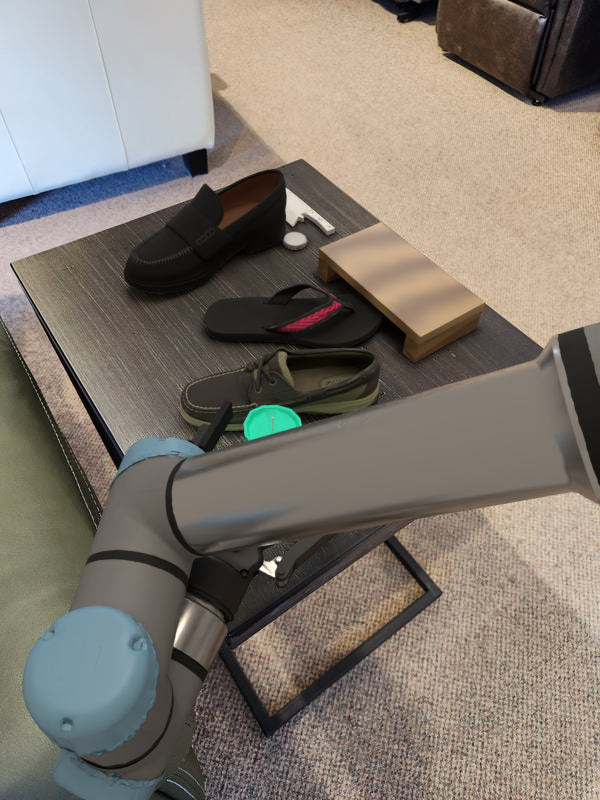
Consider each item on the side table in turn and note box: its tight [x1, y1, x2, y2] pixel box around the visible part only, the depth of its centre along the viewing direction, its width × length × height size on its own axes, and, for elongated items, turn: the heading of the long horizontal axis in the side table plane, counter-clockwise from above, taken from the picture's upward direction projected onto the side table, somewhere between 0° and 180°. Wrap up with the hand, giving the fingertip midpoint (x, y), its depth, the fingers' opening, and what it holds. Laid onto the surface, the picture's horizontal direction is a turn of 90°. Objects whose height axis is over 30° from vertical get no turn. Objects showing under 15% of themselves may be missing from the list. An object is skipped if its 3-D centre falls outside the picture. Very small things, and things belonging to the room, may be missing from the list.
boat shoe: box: [179, 346, 382, 432], centre depth 72 cm, size 9×25×8 cm, turn 103°
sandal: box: [204, 282, 385, 349], centre depth 81 cm, size 10×25×6 cm, turn 93°
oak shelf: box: [317, 221, 486, 364], centre depth 86 cm, size 22×12×5 cm, turn 35°
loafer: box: [123, 168, 287, 294], centre depth 88 cm, size 10×28×12 cm, turn 126°
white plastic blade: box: [286, 187, 336, 236], centre depth 100 cm, size 5×15×1 cm, turn 35°
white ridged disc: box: [281, 231, 308, 251], centre depth 95 cm, size 4×4×1 cm
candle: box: [243, 405, 303, 442], centre depth 63 cm, size 6×6×12 cm
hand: (285, 426), depth 65 cm, fingers open, 13 cm apart
